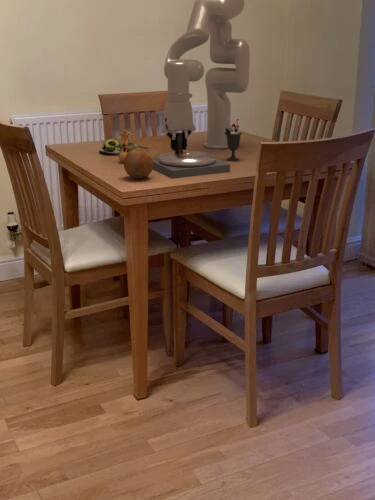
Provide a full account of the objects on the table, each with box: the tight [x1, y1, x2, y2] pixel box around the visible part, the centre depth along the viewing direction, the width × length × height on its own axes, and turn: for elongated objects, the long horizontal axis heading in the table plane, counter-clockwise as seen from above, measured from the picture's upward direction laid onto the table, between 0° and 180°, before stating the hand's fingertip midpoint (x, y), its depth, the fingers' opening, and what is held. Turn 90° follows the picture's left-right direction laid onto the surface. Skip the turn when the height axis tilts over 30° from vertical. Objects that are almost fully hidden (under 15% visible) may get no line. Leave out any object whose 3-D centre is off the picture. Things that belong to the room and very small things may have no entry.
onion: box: [123, 148, 154, 180], centre depth 212 cm, size 10×10×10 cm
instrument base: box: [152, 157, 231, 179], centre depth 227 cm, size 22×22×3 cm
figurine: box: [114, 129, 137, 164], centre depth 235 cm, size 8×6×12 cm
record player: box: [158, 131, 217, 167], centre depth 225 cm, size 20×20×8 cm
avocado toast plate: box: [98, 138, 150, 156], centre depth 256 cm, size 19×18×5 cm
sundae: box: [225, 118, 243, 162], centre depth 239 cm, size 7×7×15 cm
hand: (178, 149), depth 232 cm, fingers closed on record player, 3 cm apart
